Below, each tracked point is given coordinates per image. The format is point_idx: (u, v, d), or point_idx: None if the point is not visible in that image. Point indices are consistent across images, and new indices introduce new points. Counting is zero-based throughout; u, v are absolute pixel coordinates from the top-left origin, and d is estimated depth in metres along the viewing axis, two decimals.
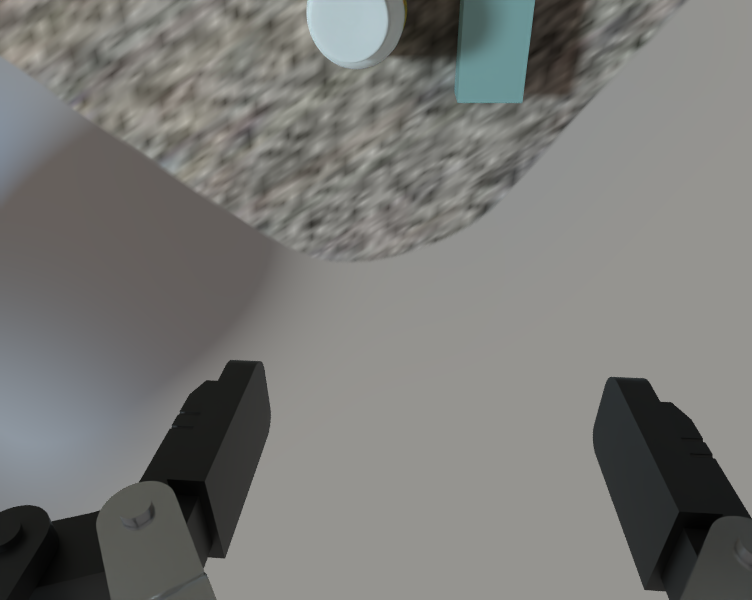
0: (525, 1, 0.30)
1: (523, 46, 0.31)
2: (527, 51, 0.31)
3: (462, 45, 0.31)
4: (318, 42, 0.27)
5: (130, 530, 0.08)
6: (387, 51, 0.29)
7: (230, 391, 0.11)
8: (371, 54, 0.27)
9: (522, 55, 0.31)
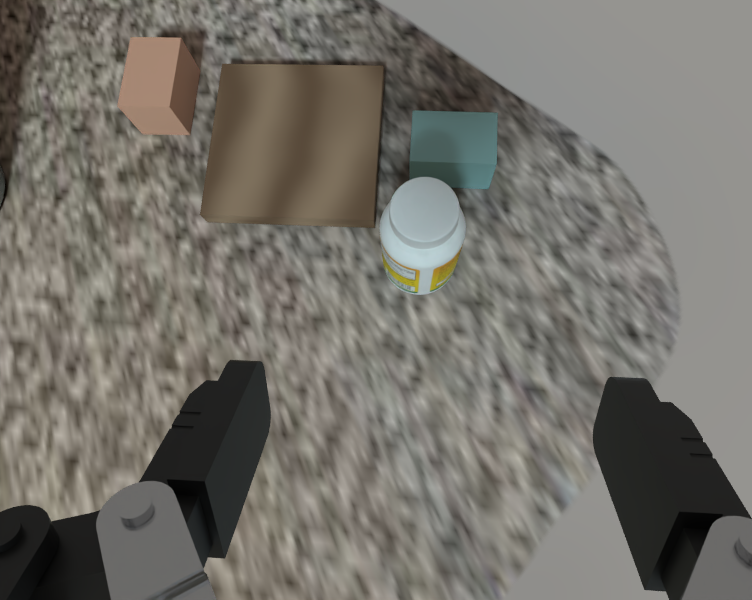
0: (419, 117, 0.37)
1: (451, 116, 0.37)
2: (456, 112, 0.37)
3: (449, 161, 0.37)
4: (441, 235, 0.29)
5: (130, 530, 0.08)
6: None
7: (230, 391, 0.11)
8: (452, 191, 0.30)
9: (458, 115, 0.37)
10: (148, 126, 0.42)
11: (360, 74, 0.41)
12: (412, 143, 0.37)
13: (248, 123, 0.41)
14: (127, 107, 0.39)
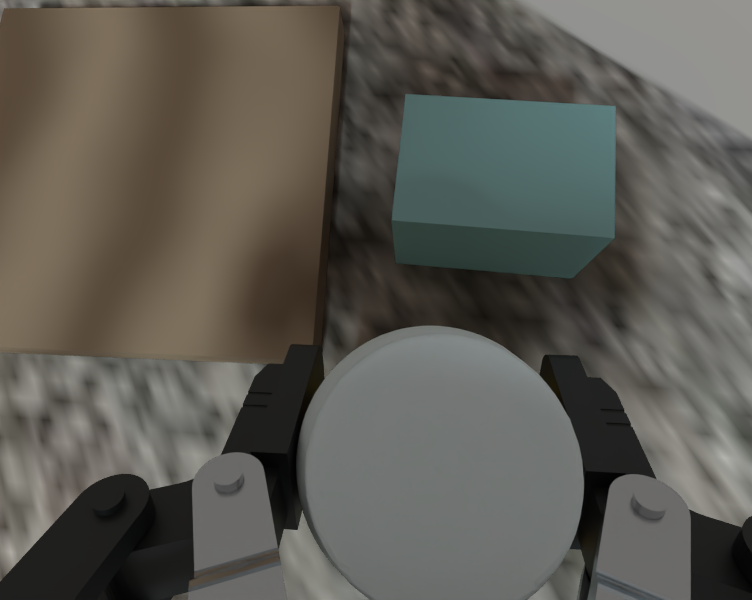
0: (420, 110, 0.15)
1: (500, 110, 0.15)
2: (511, 102, 0.15)
3: (491, 225, 0.14)
4: None
5: (226, 496, 0.09)
6: None
7: (297, 372, 0.12)
8: (552, 396, 0.08)
9: (518, 110, 0.15)
10: None
11: (290, 24, 0.19)
12: (400, 175, 0.15)
13: (45, 133, 0.19)
14: None
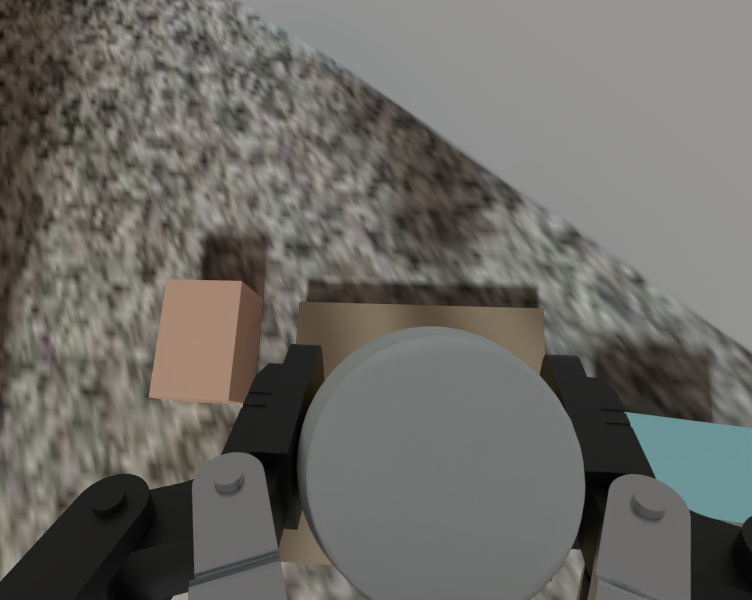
0: None
1: (684, 428, 0.23)
2: (691, 422, 0.23)
3: None
4: None
5: (226, 497, 0.09)
6: None
7: (297, 372, 0.12)
8: (554, 398, 0.08)
9: (696, 428, 0.23)
10: (193, 401, 0.28)
11: (509, 322, 0.27)
12: None
13: None
14: (164, 397, 0.26)
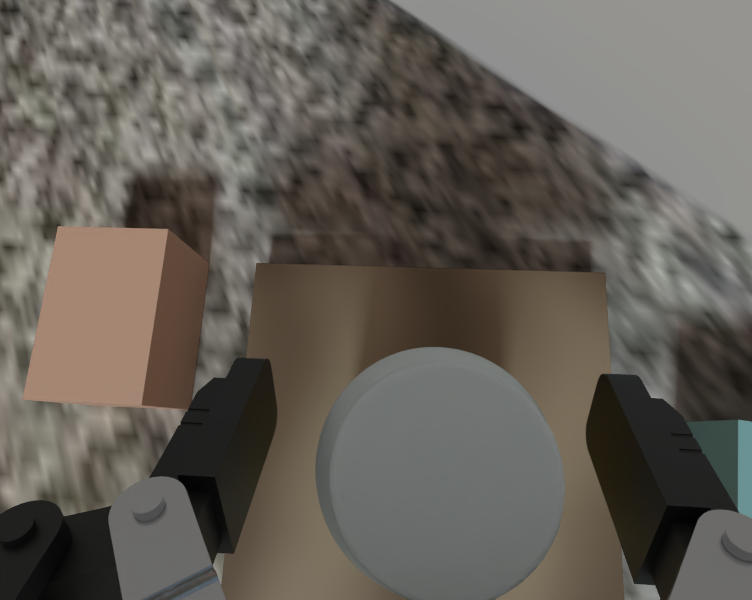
0: None
1: None
2: None
3: None
4: (506, 587, 0.08)
5: (142, 525, 0.08)
6: (518, 386, 0.11)
7: (238, 388, 0.11)
8: (539, 415, 0.09)
9: None
10: None
11: (556, 293, 0.19)
12: (742, 513, 0.15)
13: (317, 407, 0.19)
14: (46, 400, 0.17)
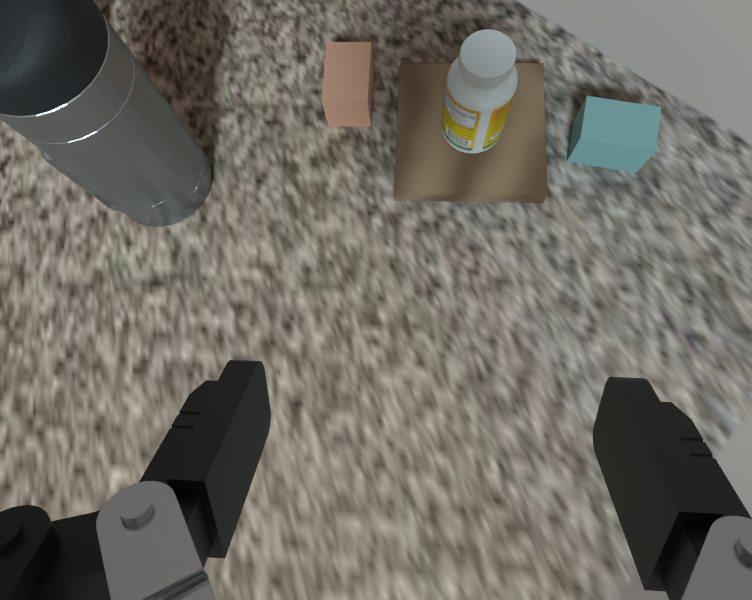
0: (591, 102, 0.44)
1: (620, 104, 0.44)
2: (624, 102, 0.44)
3: (614, 142, 0.43)
4: (502, 72, 0.37)
5: (130, 530, 0.08)
6: None
7: (230, 391, 0.11)
8: (510, 39, 0.37)
9: (627, 105, 0.44)
10: (338, 119, 0.48)
11: (523, 70, 0.48)
12: (584, 123, 0.43)
13: (428, 114, 0.47)
14: (330, 102, 0.46)
